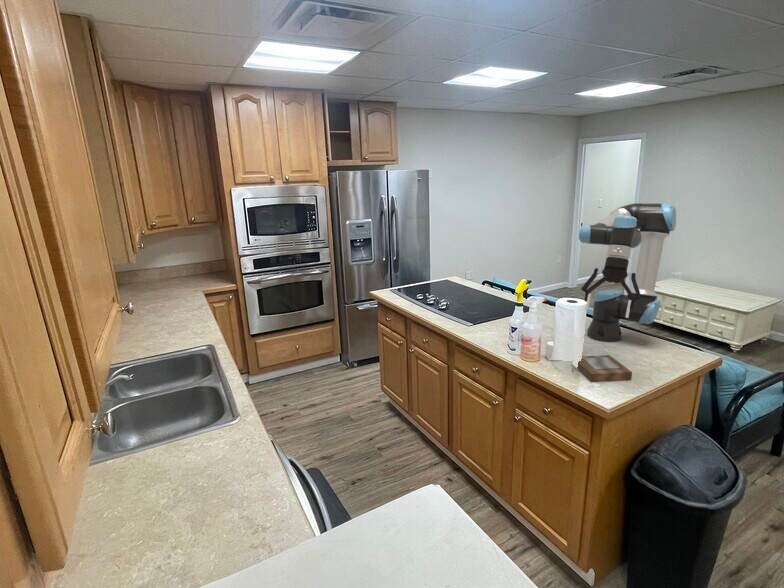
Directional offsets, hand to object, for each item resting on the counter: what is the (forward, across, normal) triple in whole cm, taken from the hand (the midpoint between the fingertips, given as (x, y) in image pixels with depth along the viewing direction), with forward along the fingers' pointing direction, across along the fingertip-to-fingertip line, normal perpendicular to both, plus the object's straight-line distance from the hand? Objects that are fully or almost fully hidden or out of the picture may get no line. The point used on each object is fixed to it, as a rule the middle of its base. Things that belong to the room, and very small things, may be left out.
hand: (606, 314), depth 157 cm
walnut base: (+24, 0, +14) cm, 28 cm away
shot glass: (+24, -19, +18) cm, 35 cm away
